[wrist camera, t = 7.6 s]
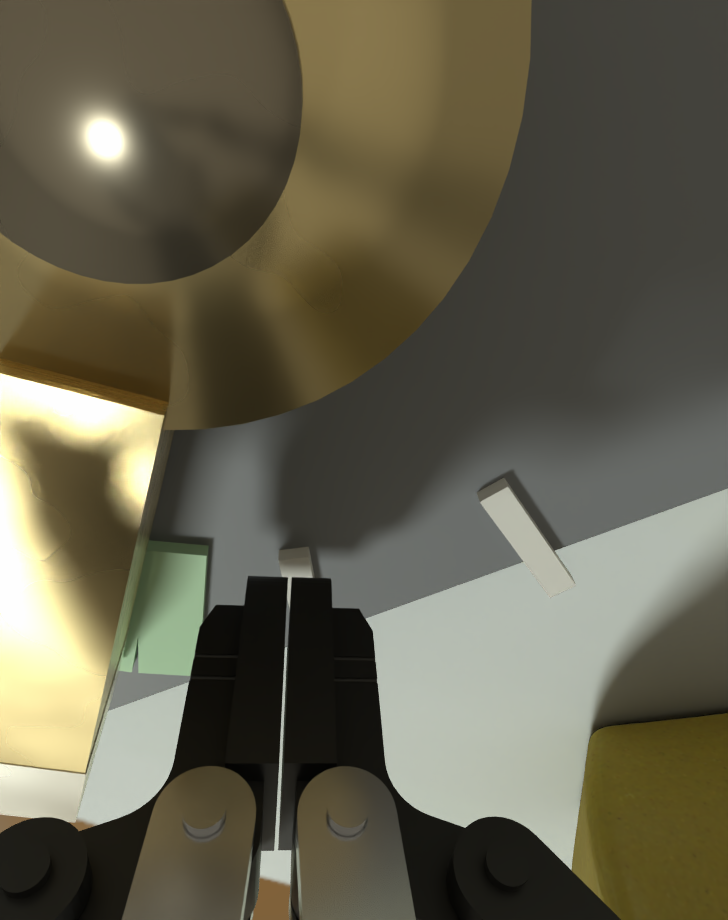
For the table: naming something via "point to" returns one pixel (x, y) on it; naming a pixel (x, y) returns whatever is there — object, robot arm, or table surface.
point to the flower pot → (657, 819)
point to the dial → (203, 277)
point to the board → (498, 364)
